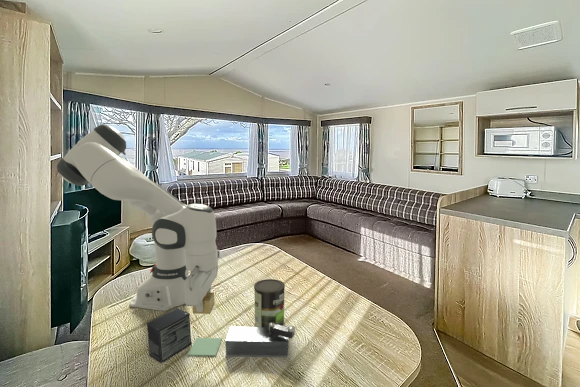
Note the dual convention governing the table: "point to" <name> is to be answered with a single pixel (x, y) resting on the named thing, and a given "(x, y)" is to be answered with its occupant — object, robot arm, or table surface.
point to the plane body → (255, 343)
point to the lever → (281, 330)
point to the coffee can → (269, 302)
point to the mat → (205, 347)
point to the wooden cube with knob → (206, 304)
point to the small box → (169, 334)
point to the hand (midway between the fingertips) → (203, 304)
